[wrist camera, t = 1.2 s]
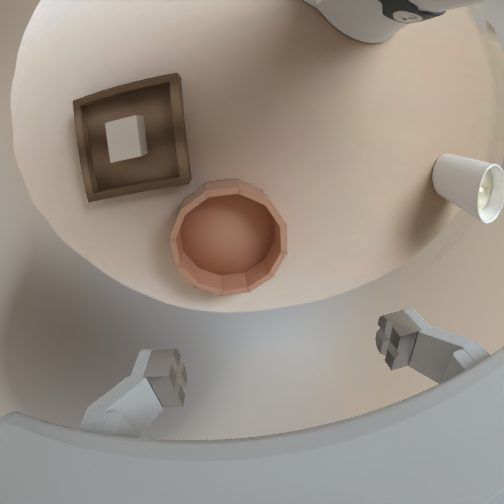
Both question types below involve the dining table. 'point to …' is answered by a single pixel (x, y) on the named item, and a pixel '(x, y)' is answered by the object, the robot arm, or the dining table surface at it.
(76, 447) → the robot arm
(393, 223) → the dining table surface
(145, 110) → the walnut tray
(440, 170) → the candle holder
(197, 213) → the terracotta bowl
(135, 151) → the off-white cube block
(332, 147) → the dining table surface
